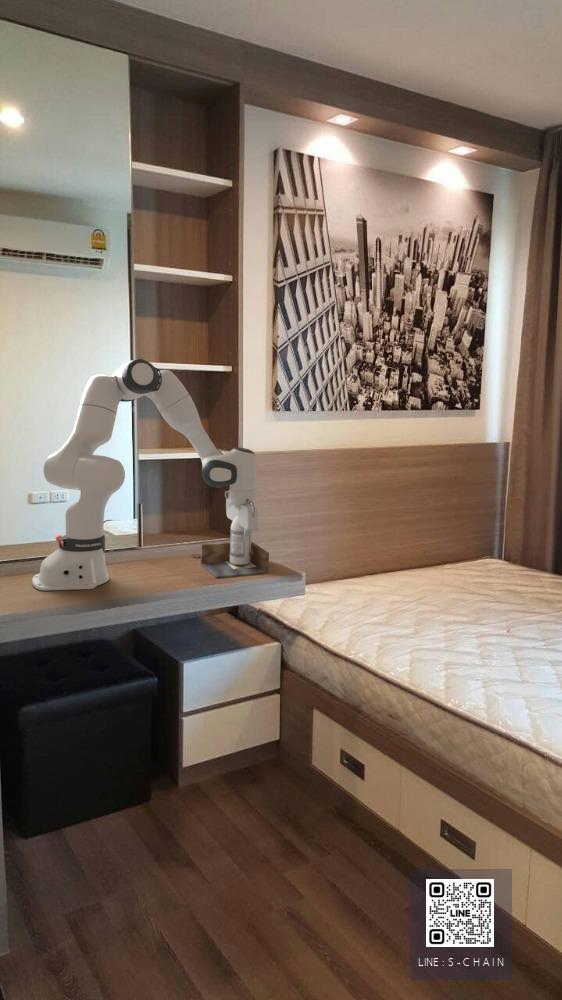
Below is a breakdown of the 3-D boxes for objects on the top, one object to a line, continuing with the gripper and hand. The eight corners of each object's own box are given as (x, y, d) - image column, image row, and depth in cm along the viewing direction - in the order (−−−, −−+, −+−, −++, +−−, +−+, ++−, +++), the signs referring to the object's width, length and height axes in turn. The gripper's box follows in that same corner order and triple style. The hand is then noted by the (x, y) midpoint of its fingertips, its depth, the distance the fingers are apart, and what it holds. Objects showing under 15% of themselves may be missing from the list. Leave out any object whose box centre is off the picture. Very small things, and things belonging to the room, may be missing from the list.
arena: (216, 578, 228) (216, 557, 227) (200, 564, 242) (200, 544, 241) (268, 573, 236) (269, 553, 234) (249, 560, 250) (250, 540, 248)
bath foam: (242, 558, 247) (244, 501, 243) (254, 563, 242) (256, 505, 238) (225, 561, 242) (227, 503, 238) (237, 566, 237) (239, 507, 233)
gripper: (263, 502, 230) (261, 544, 232) (240, 490, 248) (239, 529, 251) (245, 503, 227) (243, 546, 230) (223, 491, 245) (221, 530, 248)
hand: (241, 537), depth 240 cm, fingers closed on bath foam, 7 cm apart
